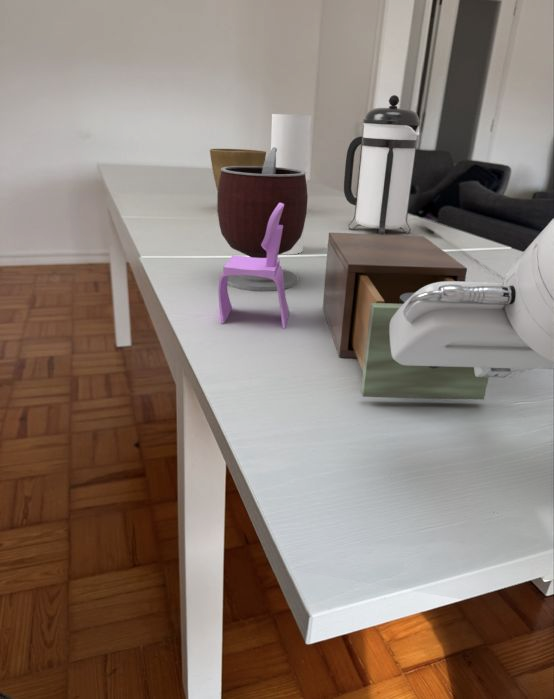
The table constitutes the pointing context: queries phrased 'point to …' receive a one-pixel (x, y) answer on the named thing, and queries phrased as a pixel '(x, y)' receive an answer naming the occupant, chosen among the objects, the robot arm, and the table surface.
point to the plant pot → (234, 159)
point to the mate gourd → (261, 213)
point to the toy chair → (258, 267)
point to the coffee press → (383, 167)
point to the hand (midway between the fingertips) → (490, 368)
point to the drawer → (375, 353)
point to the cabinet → (374, 257)
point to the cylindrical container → (292, 149)
